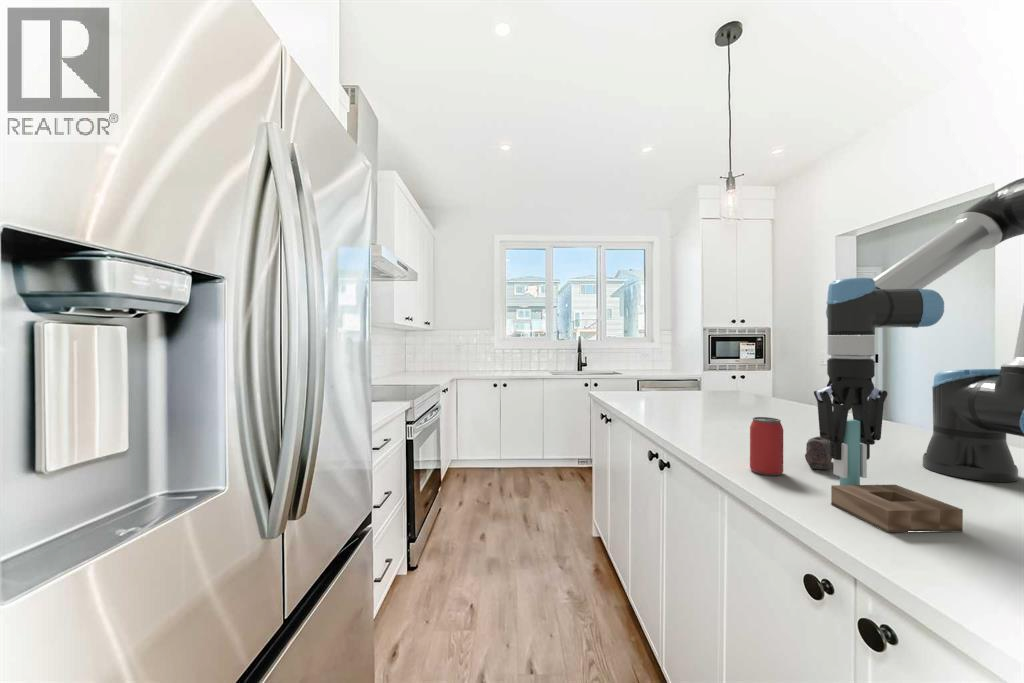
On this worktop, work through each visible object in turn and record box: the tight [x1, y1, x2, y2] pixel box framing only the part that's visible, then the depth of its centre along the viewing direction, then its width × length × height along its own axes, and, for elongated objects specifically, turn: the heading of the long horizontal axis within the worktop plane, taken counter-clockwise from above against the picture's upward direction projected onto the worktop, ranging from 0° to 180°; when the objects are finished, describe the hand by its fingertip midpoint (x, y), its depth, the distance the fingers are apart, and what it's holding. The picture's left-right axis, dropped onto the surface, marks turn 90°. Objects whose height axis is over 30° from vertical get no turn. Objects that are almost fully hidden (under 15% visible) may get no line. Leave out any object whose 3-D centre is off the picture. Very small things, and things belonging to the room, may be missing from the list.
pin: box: [839, 418, 861, 485], centre depth 90 cm, size 3×3×14 cm
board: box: [830, 484, 964, 533], centre depth 77 cm, size 12×12×4 cm
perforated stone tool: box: [804, 435, 833, 470], centre depth 108 cm, size 15×5×7 cm, turn 141°
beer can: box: [749, 416, 784, 477], centre depth 103 cm, size 7×7×12 cm
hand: (849, 475), depth 90 cm, fingers closed on pin, 3 cm apart
